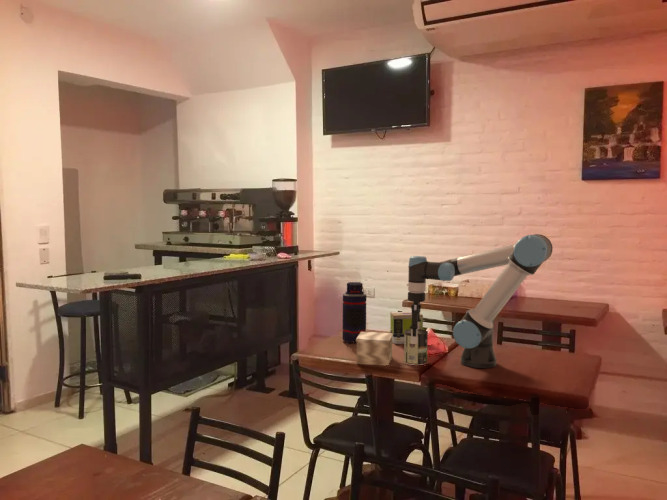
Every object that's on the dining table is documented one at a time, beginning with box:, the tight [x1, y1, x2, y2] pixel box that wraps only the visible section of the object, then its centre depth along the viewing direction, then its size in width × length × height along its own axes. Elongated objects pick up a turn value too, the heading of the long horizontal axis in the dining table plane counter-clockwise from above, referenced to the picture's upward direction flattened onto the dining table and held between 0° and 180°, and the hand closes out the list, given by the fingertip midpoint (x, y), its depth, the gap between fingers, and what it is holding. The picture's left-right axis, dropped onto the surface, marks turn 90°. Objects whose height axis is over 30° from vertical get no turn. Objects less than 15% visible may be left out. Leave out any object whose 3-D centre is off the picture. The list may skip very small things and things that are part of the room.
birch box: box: [356, 331, 393, 366], centre depth 250 cm, size 15×15×11 cm
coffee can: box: [403, 329, 429, 365], centre depth 247 cm, size 10×10×14 cm
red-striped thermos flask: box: [341, 281, 367, 344], centre depth 286 cm, size 14×12×30 cm
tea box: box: [389, 311, 424, 345], centre depth 286 cm, size 15×10×15 cm, turn 94°
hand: (415, 340), depth 247 cm, fingers open, 13 cm apart
